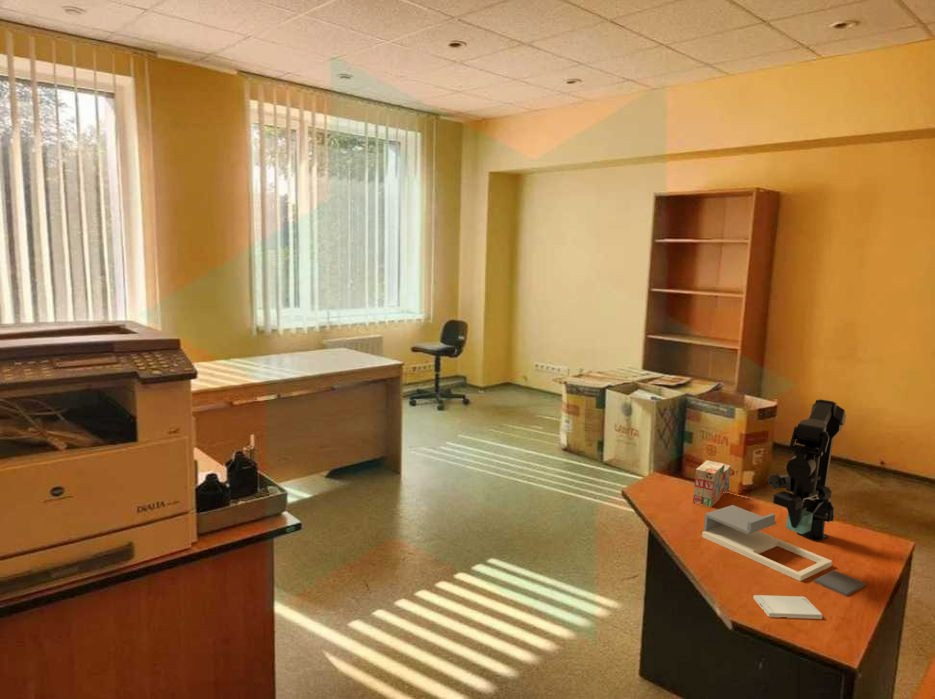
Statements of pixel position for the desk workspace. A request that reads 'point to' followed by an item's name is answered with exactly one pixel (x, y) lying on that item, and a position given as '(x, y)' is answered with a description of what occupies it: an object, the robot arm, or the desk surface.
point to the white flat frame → (764, 549)
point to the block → (801, 523)
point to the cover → (738, 519)
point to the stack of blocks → (711, 482)
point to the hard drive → (787, 606)
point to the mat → (840, 582)
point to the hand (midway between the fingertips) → (798, 525)
